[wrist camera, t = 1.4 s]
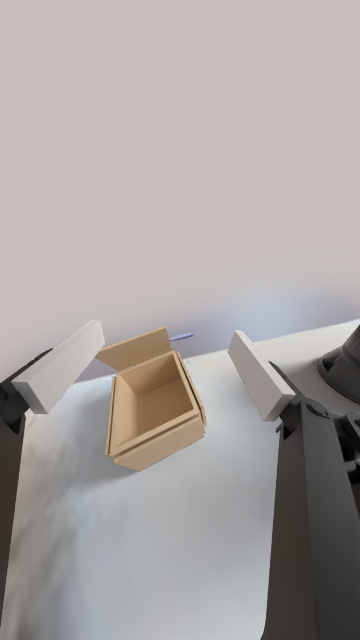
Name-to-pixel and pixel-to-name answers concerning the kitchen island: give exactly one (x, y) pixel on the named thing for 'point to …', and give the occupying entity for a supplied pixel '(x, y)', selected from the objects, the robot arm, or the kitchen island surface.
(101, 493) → the kitchen island surface
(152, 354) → the front flap
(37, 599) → the kitchen island surface
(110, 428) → the carton
